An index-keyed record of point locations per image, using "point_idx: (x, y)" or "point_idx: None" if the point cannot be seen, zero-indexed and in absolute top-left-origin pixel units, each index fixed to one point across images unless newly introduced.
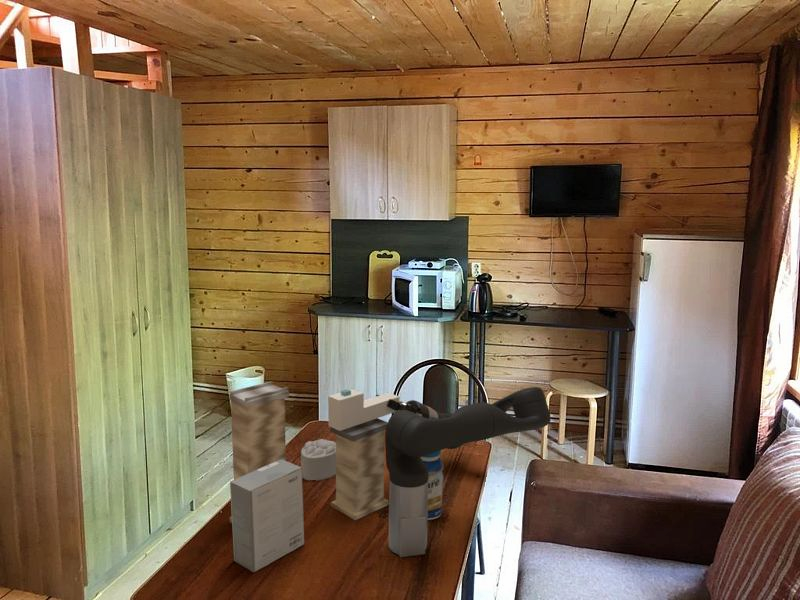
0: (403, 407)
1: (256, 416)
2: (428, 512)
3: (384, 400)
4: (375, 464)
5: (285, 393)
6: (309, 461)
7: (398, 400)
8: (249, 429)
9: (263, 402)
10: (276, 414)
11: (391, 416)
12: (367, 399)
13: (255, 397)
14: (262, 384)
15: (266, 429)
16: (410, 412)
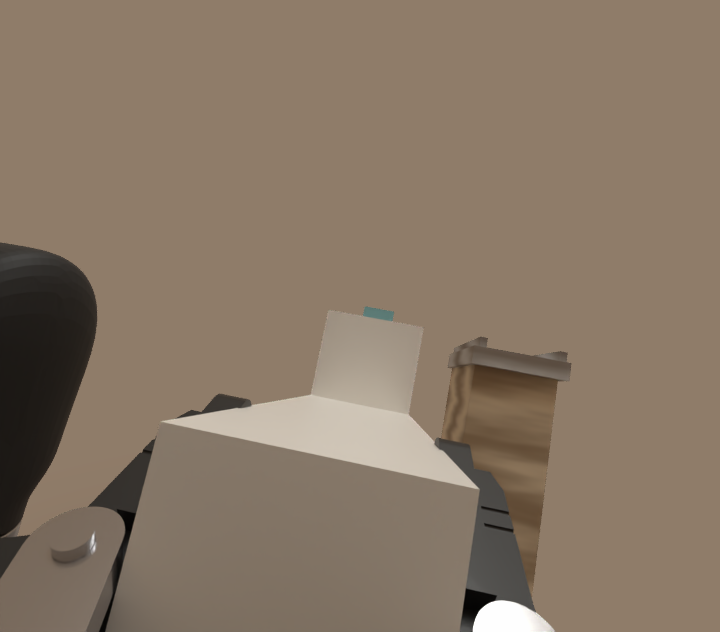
0: (3, 556)
1: (452, 395)
2: None
3: (282, 408)
4: None
5: (470, 350)
6: None
7: (156, 486)
8: (444, 420)
9: (455, 363)
10: (462, 408)
11: (88, 281)
12: (412, 424)
13: (458, 349)
14: (544, 354)
15: (450, 438)
16: (4, 243)
